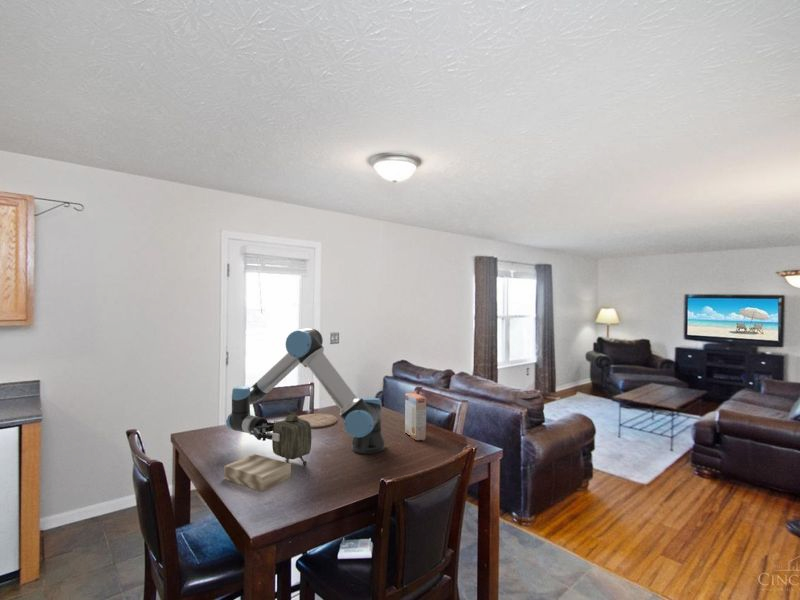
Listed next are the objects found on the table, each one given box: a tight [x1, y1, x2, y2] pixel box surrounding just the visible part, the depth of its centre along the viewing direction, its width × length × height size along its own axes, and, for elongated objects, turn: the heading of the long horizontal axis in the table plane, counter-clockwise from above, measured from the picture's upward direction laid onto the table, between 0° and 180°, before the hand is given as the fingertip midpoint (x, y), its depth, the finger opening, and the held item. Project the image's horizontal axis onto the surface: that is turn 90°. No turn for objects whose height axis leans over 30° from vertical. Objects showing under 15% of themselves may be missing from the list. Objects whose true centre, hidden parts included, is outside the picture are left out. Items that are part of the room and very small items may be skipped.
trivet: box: [297, 413, 338, 429], centre depth 225 cm, size 25×25×2 cm
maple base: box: [223, 453, 292, 492], centre depth 150 cm, size 20×14×5 cm
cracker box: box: [404, 392, 427, 441], centre depth 201 cm, size 14×6×21 cm, turn 22°
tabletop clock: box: [271, 402, 313, 466], centre depth 164 cm, size 14×9×25 cm, turn 56°
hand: (291, 433), depth 164 cm, fingers open, 13 cm apart
